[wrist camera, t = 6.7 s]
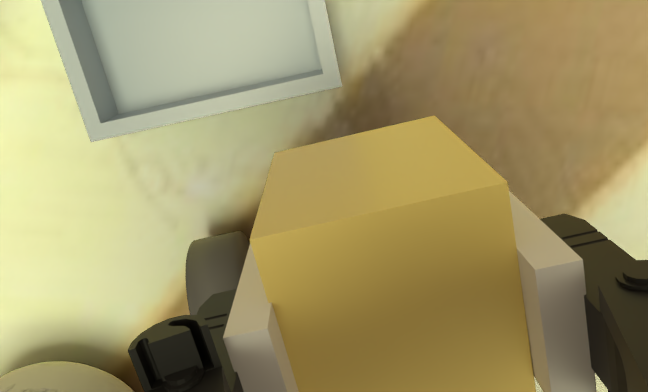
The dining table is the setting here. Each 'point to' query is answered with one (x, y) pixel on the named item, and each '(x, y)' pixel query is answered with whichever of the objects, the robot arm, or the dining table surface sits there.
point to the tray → (188, 57)
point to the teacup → (61, 379)
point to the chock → (393, 265)
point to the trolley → (214, 266)
